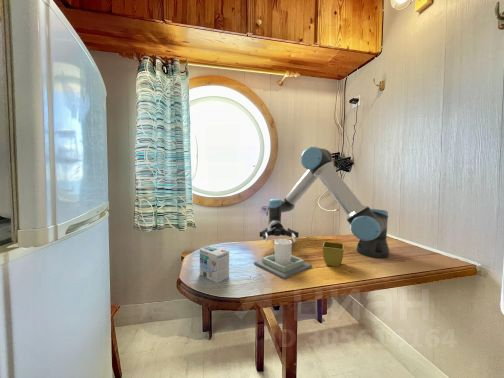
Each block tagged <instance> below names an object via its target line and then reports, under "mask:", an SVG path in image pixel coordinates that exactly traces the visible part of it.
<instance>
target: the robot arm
mask: <svg viewBox="0 0 504 378" xmlns="http://www.w3.org/2000/svg"><path fill="white" fill-rule="evenodd" d="M300 156H301V157H300V164H301V165H302V166H303V168H304V169H305V170H306V172H304V174H303V175H302V176H301V177H300V179H299V180H298V181H297V182H296V184H295V185H294V186H293V187H292V188H291V190H290V191H289V192H288V194H287V195H286V196H285V197H284V199H283V200H282V199H281V198H270V199H269V202H268V227H266V228H264V229H262V230H261V231H259V238H263V239H264V240H265V242H267V243H268V240H269V237H271V236H274V237H280V236H284V237H285V236H286V237H290V238H291V240H292V242H293V243H296V241H297V238H299V234H300V233H299V232H298V231H297V230H296V231H295V230H293V229H291V228H287V229H285V228H284V226H283V224H282V214H283V213H288V212H291V211H293V210H294V208H295V205H296V204H297V202H298V201H299V200H300V199H301V198H302V197H303V195H305V194H306V192H307V191H308V190H309V189H310V188H311V186H312V185H313V184H314V182H316V181H317V179H318V178H319V180H320V181H321V182H322V183H323V185H324V186H325V188H326V190H328V192H329V193H330V195H331V196H332V197H333V198H334V200H335V201H336V202H337V204H338V205H339V206H340V207H341V209H342V210H343V212H344V213H345V214H346V221H347V223H348V224H349V225H350V230H351V233H352V235H353V236H354V237H355V238H357V239H358V242H357V244H356V252H357V253H359V254H361V255H363V256H367V257H371V258H378V259H384V258H388V257H390V247H389V244H388V241H387V235H388V220H389V212H388V211H387V210H385V209H378V208H377V209H376V208H370V207H369V206H368V205H364V204H363V203H362V202H361V200H360V199H359V198H358V197H357V196H356V194H354V192H353V191H352V190H351V189H350V187H349V186H348V185H347V183H345V181H344V180H343V178H342V177H341V176H340V175H339V173H338V172H337V171H336V169H334V167H333V166H334V164H333V163H334V162H333V155H332V153H331V151H329V150H328V149H325V148H321V147H317V146H311V147H307V148H305V150H304V151H303V152H302V154H301V155H300Z"/></svg>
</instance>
